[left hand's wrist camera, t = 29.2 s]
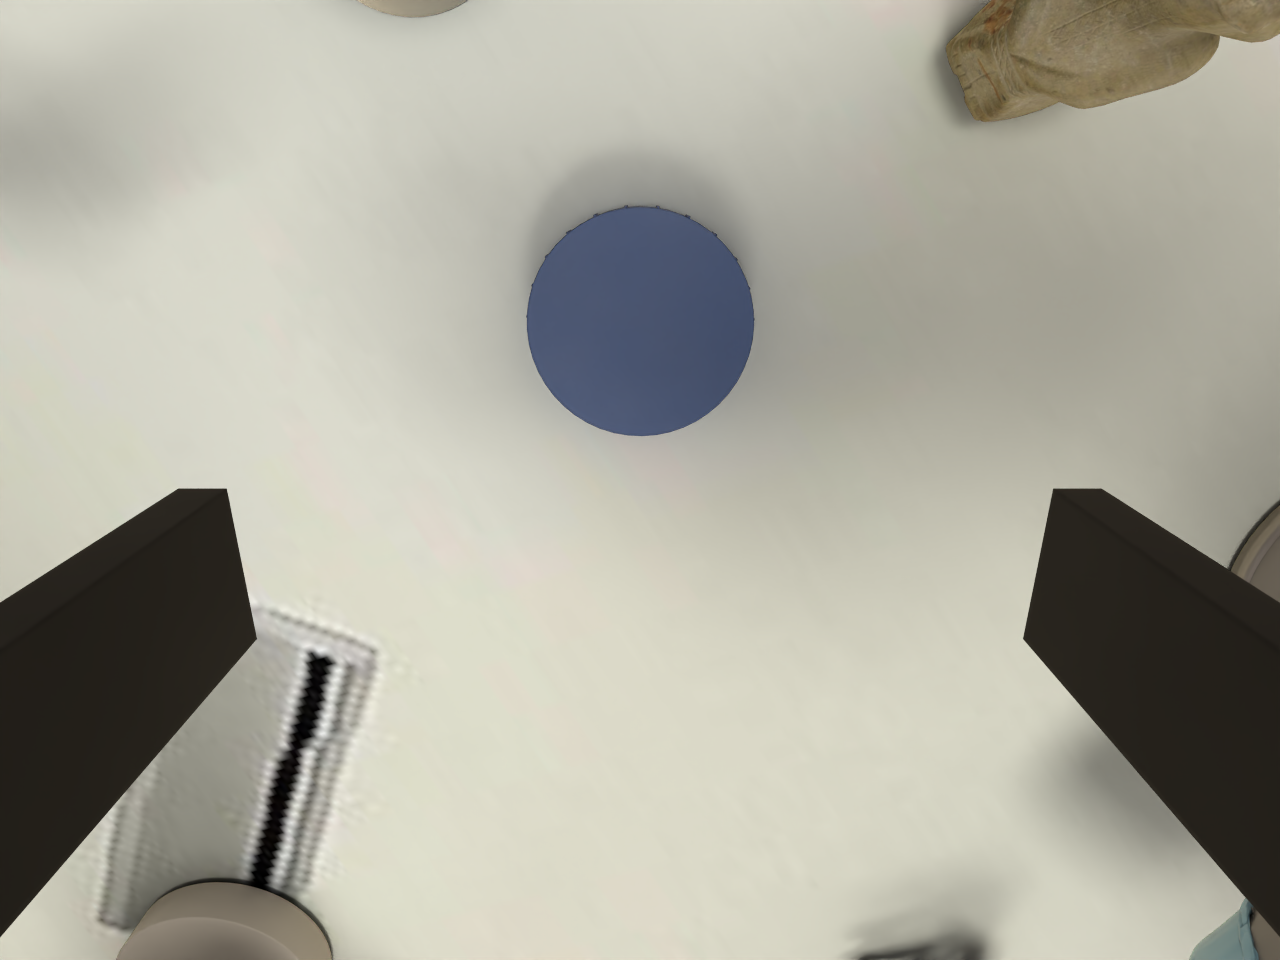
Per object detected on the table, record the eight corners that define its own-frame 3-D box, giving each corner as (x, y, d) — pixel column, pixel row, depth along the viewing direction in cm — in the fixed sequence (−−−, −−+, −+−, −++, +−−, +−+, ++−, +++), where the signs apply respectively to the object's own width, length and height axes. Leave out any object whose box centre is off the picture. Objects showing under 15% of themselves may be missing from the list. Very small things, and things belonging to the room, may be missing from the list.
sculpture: (1118, 68, 33) (1475, -25, 19) (959, 156, 34) (1182, 129, 20) (1077, -74, 31) (1436, -294, 17) (910, 24, 32) (1118, -106, 18)
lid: (486, 301, 37) (477, 308, 34) (659, 154, 34) (660, 151, 32) (623, 463, 39) (622, 478, 37) (790, 336, 37) (800, 345, 35)
